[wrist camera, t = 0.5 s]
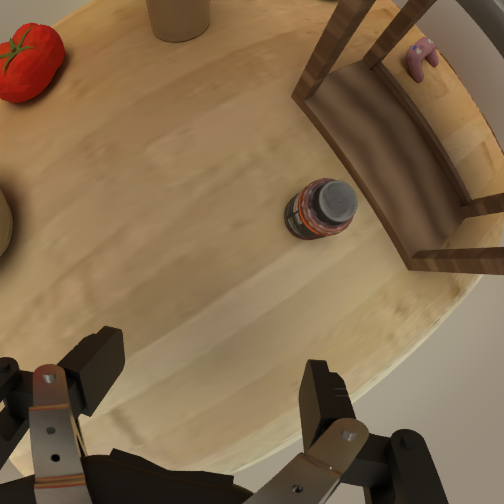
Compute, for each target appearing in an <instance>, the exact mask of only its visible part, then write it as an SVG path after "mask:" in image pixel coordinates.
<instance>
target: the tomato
mask: <svg viewBox="0 0 504 504" xmlns="http://www.w3.org/2000/svg"><path fill="white" fill-rule="evenodd" d="M64 56H65V50H64V46H63V42H62V40H61V38H60V36H59V34H58V33H57V32H56V31H55V30H54V29H53V28H51V27H50V26H46V25H38V24H36V23H29V24H25V25H23V26H22V27H20V28H19V29H18V30H17V31H16V33H15V34H14V36H13V38H12V39H11V38H10V41H9V42H5V43H2V44H0V98H1V99H2V100H5V101H8V102H12V103H18V102H23V101H26V100H28V99H31V98H34V97H35V96H36V95H38V94H39V93H40V92H42V91H43V90H44V89H45V87H46V86H47V85H48V84H49V83H50V81H51V79H52V78H53V76H54V74H55V71H56V69H57V68H58V67H59V66H60V65H61V64H62V62H63V59H64Z"/></svg>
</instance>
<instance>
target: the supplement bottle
mask: <svg viewBox="0 0 504 504" xmlns="http://www.w3.org/2000/svg"><path fill="white" fill-rule="evenodd" d="M357 202H358V201H357V197H356V194H355V192H354V190H353V189H352V188H351V187H350V186H349V185H348V184H347V183H345V182H342V181H337V180H334V179H330V178H323V179H318V180H316V181H314V182H312V183H310V184H309V185H308V186H307V187H305V188H304V189H303V190H302V191H301V192H299V193H298V194H297V195H296V196H295V197H293V198H292V199H291V200H290V202H289V203H288V204H287V206H286V209H285V214H284V218H285V223H286V226H287V228H288V229H289V231H290V232H291V233H292V234H293V235H294V236H296V237H298V238H300V239H303V240H313V239H318V238H322V237H326V236H331V235H335V234H338V233H340V232H342V231H343V230H345V229H346V228H347V227H348V226H349V224H350V223H351V221H352V219H353V216H354V214H355V212H356V210H357Z"/></svg>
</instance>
